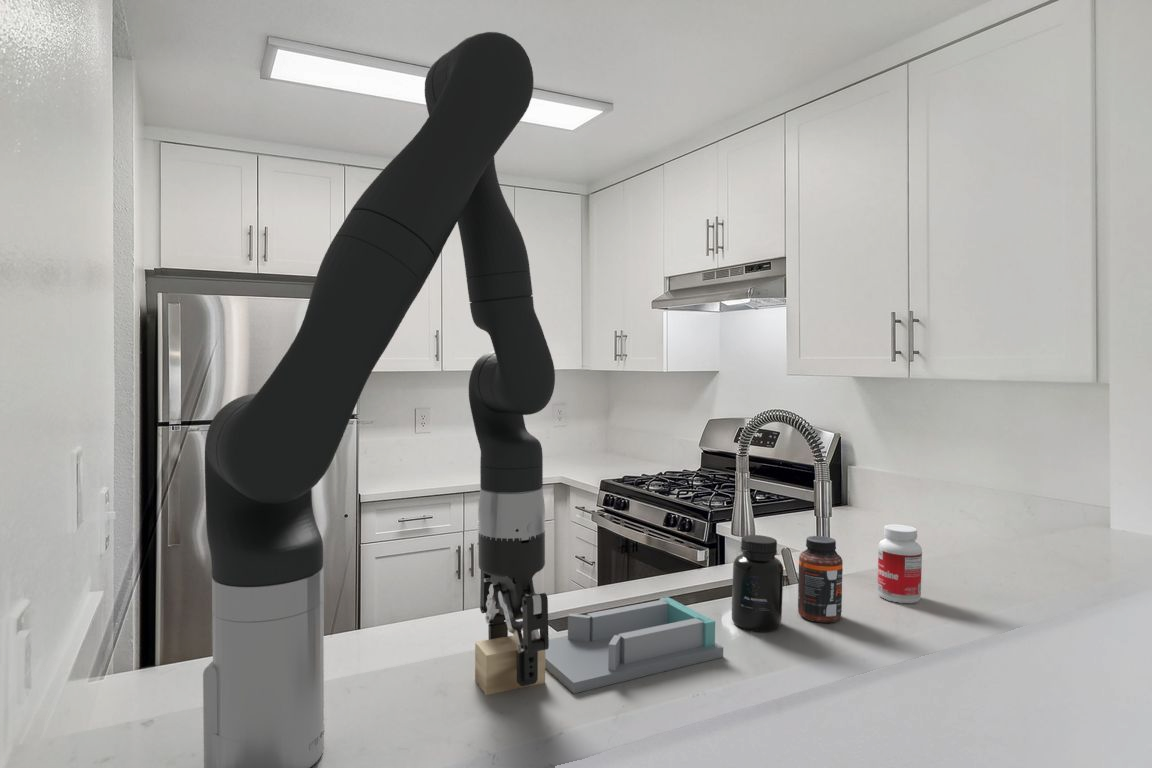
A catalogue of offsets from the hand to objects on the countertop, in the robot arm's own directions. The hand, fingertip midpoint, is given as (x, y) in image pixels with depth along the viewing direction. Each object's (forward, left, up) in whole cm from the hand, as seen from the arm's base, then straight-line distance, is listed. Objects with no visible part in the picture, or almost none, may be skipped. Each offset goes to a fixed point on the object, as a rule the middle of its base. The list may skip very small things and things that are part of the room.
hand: (512, 668), depth 80 cm
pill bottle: (+60, +24, -2) cm, 65 cm away
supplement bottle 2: (+44, +17, -2) cm, 47 cm away
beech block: (0, 0, -2) cm, 2 cm away
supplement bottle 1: (+34, +15, -2) cm, 37 cm away
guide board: (+14, +6, -1) cm, 15 cm away
